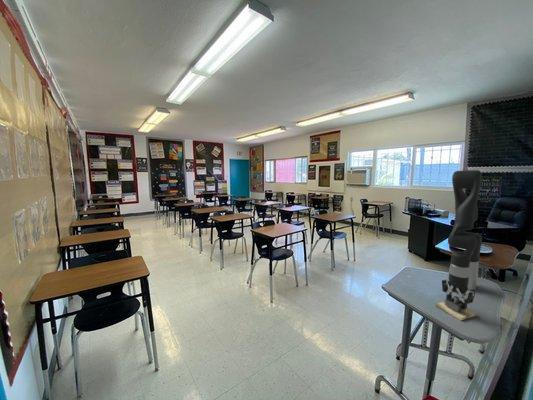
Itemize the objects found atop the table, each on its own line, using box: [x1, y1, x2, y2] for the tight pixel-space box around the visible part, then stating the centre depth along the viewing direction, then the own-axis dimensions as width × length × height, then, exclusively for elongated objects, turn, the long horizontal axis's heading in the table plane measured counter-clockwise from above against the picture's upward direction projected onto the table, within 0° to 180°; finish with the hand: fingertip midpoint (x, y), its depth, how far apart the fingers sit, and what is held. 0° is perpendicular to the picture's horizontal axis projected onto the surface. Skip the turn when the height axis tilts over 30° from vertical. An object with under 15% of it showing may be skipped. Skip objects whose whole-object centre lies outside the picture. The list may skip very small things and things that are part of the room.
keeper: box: [435, 295, 478, 321], centre depth 114 cm, size 11×12×7 cm
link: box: [444, 296, 468, 312], centre depth 114 cm, size 6×6×3 cm
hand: (455, 304), depth 114 cm, fingers closed on link, 6 cm apart
